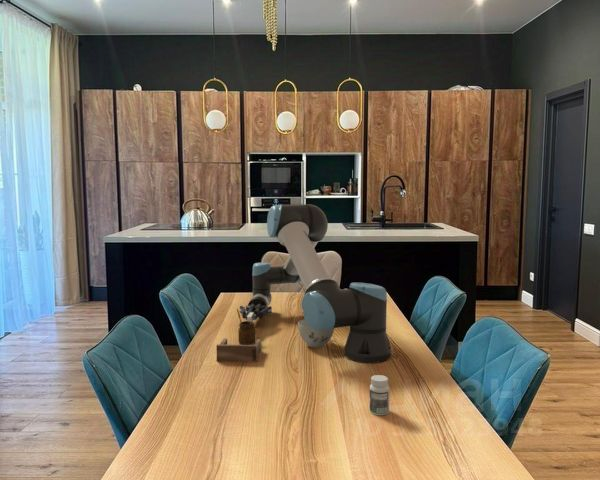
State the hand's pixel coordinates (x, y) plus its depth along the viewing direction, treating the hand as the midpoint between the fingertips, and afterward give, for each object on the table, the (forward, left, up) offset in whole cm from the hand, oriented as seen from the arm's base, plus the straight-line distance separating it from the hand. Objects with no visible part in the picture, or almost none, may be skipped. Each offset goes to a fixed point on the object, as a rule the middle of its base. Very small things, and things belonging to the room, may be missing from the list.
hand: (248, 320), depth 183 cm
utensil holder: (-5, +3, -6) cm, 9 cm away
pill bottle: (-71, -2, -6) cm, 72 cm away
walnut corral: (-16, +11, -6) cm, 20 cm away
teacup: (-19, -17, -6) cm, 26 cm away
